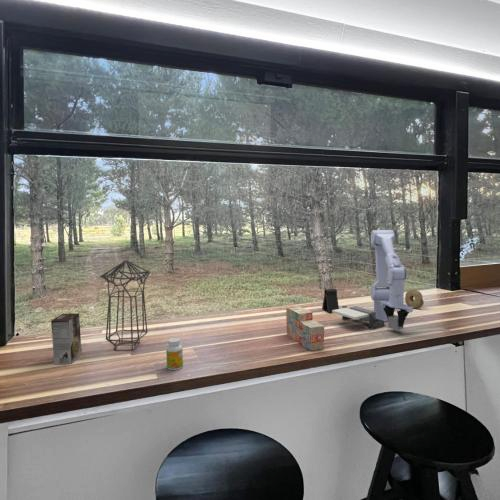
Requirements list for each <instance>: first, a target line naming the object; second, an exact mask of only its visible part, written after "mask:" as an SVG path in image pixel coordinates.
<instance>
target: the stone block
mask: <svg viewBox="0 0 500 500" xmlns="http://www.w3.org/2000/svg"><path fill="white" fill-rule="evenodd" d="M404 327H405V325H404V324H403V326H402V327H399V324H398V314H397V315H396V314H394V315H392V316H388V321H387V328H388V329H392V330H395V331H400V330H402V329H404Z"/></svg>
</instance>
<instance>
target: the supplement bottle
mask: <svg viewBox="0 0 500 500" xmlns="http://www.w3.org/2000/svg"><path fill="white" fill-rule="evenodd" d="M167 344H168V345H167V346H166V351H165V352H166V368H167V369H168V370H170V371H177V370H181V369H182V368H183V366H184V361H183V360H184V359H183V358H184V357H183V353H184V352H183V345H182V344H181V338H179V337H171V338H169V339H168V340H167Z"/></svg>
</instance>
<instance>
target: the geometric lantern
mask: <svg viewBox="0 0 500 500" xmlns="http://www.w3.org/2000/svg"><path fill="white" fill-rule="evenodd" d="M126 264H127V269H128V271H125V267H126ZM139 269H140V270H143V271H140V270H139ZM118 274H120V277H117V275H118ZM126 274H128V275H130V276H128V275H126ZM150 274H151V271H149V270H147V269H145V268H144V267H141V266H139V265H137V264H136V263H133V262H132V261H129V260H123V261H121V262H120V263H119V264H117V265H115V266H114V267H113V268H111V269H109V270H108V271H106V272H104V273H103V274H101V275H99V278H101V279H104V280H105V281H106V282H107V294H108V295H107V296H108V304H107V319H106V330H105V331H106V332H105V340H106V342H109V344H111V345H113V349H112V350H113V351H114V352H115V351H117V352H118V351H120V352H121V351H122V352H123V351H134V350H136V349H137V347H138V346H139V345H140V343H141V339H142V338H143V337H144V336H146V335H147V334H148V324H147V323H148V321H147V312H146V301H145V286H146V285H145V284H146V281H147V279H148V278H149V277H150ZM136 275H137V276H136ZM123 276H124V277H123ZM109 278H110V279H109ZM143 279H144V280H143ZM115 280H119V282H120V284H119V283H118V284H116V283H115ZM122 280H127V281H125V282H124V283H122ZM132 281H136V282H137V284H138V287H137V290H131V293H133V292H134V293H135V294H134V295H131V294H130V292H129V290H127V286H128V284H129V283H130V282H132ZM139 281H140V283H139ZM110 284H112V285H113V289H112V290H111V291H110ZM141 285H142V287H141ZM119 287H123V288H122V290H120V289H119ZM115 288H116V289H117V290H115ZM139 289H140V290H139ZM114 290H115V291H114ZM121 292H122V295H121V296H120V293H121ZM125 292H126V293H127V295H128V296H127V295H126V296H125ZM137 292H141V293H139V294H137ZM116 293H117V295H113V294H116ZM140 295H141V306H142V307H141V312H142V315H141V316H142V329H139V316H138V315H139V314H138V302H137V297H138V296H140ZM112 298H117V305H116V306H117V308H116V309H117V310H116V326H115V331H114V332H113V333H111V317H112V316H111V315H112V313H111V312H112V310H111V307H112ZM120 298H122V303H121V304H122V305H121V307H122V314H121V315H122V319H121V321H122V323H121V329H119V330H118V325H119V309H120V308H119V307H120ZM125 298H130V299H129V301H130V302H129V303H130V304H129V305H130V329H124V325H125V324H124V323H125V321H124V320H125V317H124V315H125V308H124V307H125ZM132 298H134V306H135V318H136V329H133V305H132V304H133V303H132V302H133V301H132V300H133V299H132ZM118 332H121V337H120V335H119V333H118ZM123 332H130V335H131V336H130V337H123ZM134 332H137V337H133V336H134V335H133V333H134ZM143 332H144V333H143ZM113 335H117V337H118V339H111V337H113ZM130 339H131V340H130ZM114 342H115V343H114ZM117 343H118V344H117ZM136 344H137V345H136ZM118 346H120V347H121V346H123V347H124V346H125V347H126V346H127V347H129V346H130V347H131V349H130V348H129V349H117V348H118Z"/></svg>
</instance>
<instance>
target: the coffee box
mask: <svg viewBox="0 0 500 500" xmlns="http://www.w3.org/2000/svg"><path fill="white" fill-rule="evenodd" d="M50 322H51V325H50V327H51V337H52V339H51V341H52V351H53V352H52V353H53V355H52V356H53V365H56V366H57V365H72V364H73V363H74V362H75V361H76V360H77V359H78V358H79V357H80V356H81V355H83V352H82V351H83V350H82V340H81V337H82V336H81V324H80V313H61V314H60V315H58V316H57V317H55V318H54V319H52V320H51V321H50Z"/></svg>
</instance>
